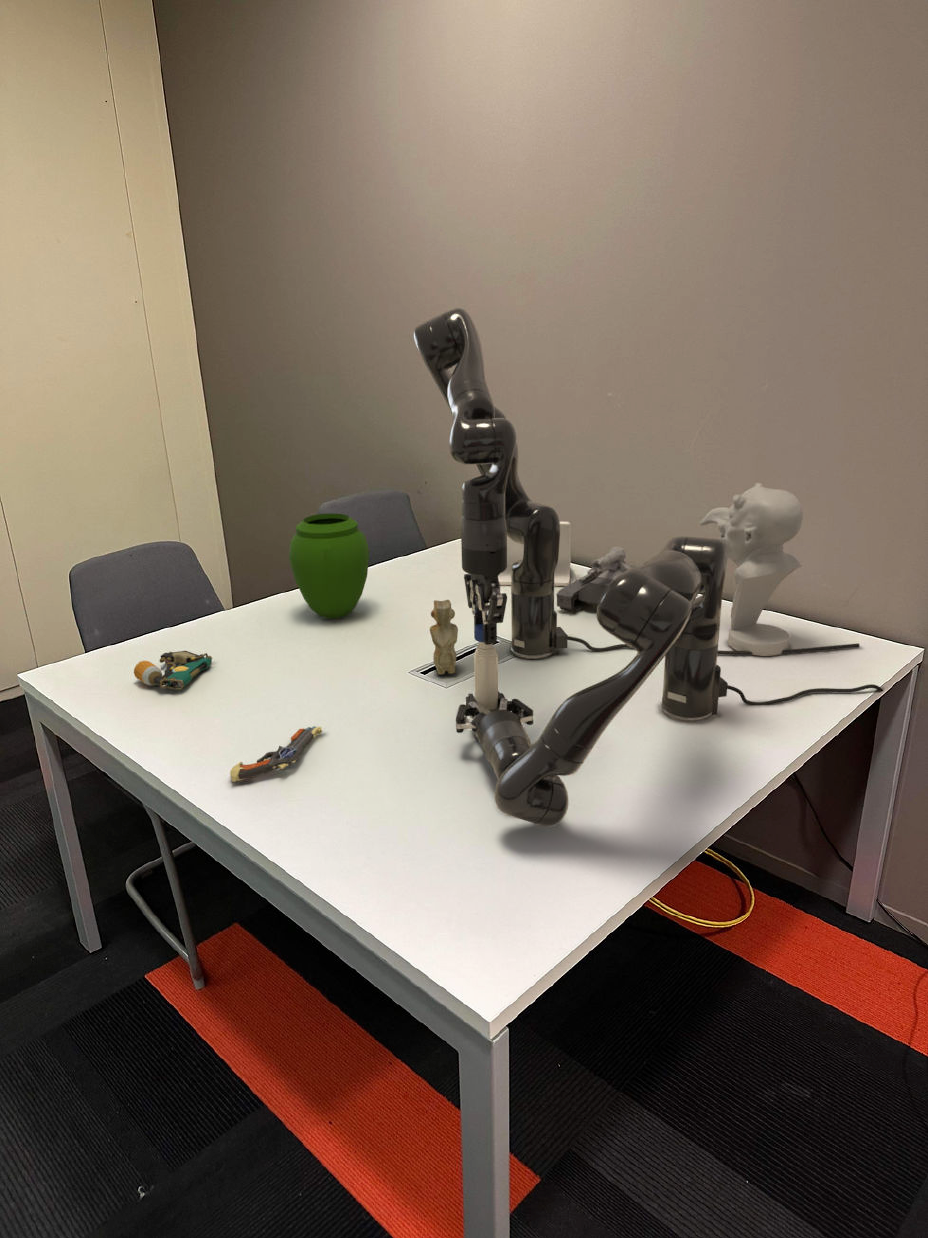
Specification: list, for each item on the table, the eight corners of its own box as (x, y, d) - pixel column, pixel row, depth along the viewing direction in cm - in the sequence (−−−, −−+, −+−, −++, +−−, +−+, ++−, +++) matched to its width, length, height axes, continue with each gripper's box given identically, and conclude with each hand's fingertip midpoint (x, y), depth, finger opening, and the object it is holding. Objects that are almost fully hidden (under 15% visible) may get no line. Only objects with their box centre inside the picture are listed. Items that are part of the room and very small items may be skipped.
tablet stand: (569, 585, 229) (570, 524, 223) (476, 584, 232) (475, 523, 226) (570, 566, 246) (571, 508, 240) (484, 564, 249) (483, 507, 243)
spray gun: (177, 659, 191) (231, 671, 185) (120, 684, 176) (176, 698, 171) (176, 641, 190) (230, 653, 184) (118, 665, 175) (174, 678, 169)
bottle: (479, 741, 150) (477, 635, 143) (472, 731, 154) (470, 627, 147) (501, 738, 152) (500, 632, 144) (494, 727, 155) (492, 624, 148)
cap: (501, 639, 146) (500, 627, 145) (482, 644, 144) (482, 632, 143) (487, 632, 149) (487, 621, 148) (470, 637, 147) (469, 626, 146)
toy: (603, 584, 229) (605, 530, 224) (673, 597, 218) (677, 540, 213) (555, 612, 210) (556, 553, 205) (630, 627, 199) (633, 566, 194)
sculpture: (458, 662, 183) (456, 596, 178) (460, 676, 176) (457, 608, 171) (431, 663, 183) (428, 597, 177) (431, 677, 176) (428, 609, 171)
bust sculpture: (728, 615, 205) (741, 470, 193) (809, 647, 185) (829, 488, 173) (677, 628, 198) (686, 478, 186) (755, 663, 178) (772, 498, 166)
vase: (389, 608, 216) (383, 514, 208) (339, 633, 201) (330, 533, 192) (330, 596, 226) (322, 506, 218) (278, 619, 211) (267, 523, 202)
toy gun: (224, 771, 138) (281, 769, 136) (271, 724, 156) (322, 721, 154) (228, 786, 139) (285, 784, 137) (273, 737, 157) (324, 735, 155)
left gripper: (448, 534, 145) (450, 628, 151) (479, 556, 133) (480, 657, 139) (488, 529, 148) (489, 622, 154) (522, 550, 135) (522, 650, 141)
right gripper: (548, 716, 137) (521, 673, 153) (461, 726, 135) (443, 681, 151) (547, 757, 140) (521, 711, 156) (462, 767, 138) (444, 719, 153)
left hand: (485, 638), depth 146 cm, fingers closed on cap, 3 cm apart
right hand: (483, 697), depth 153 cm, fingers closed on bottle, 4 cm apart
